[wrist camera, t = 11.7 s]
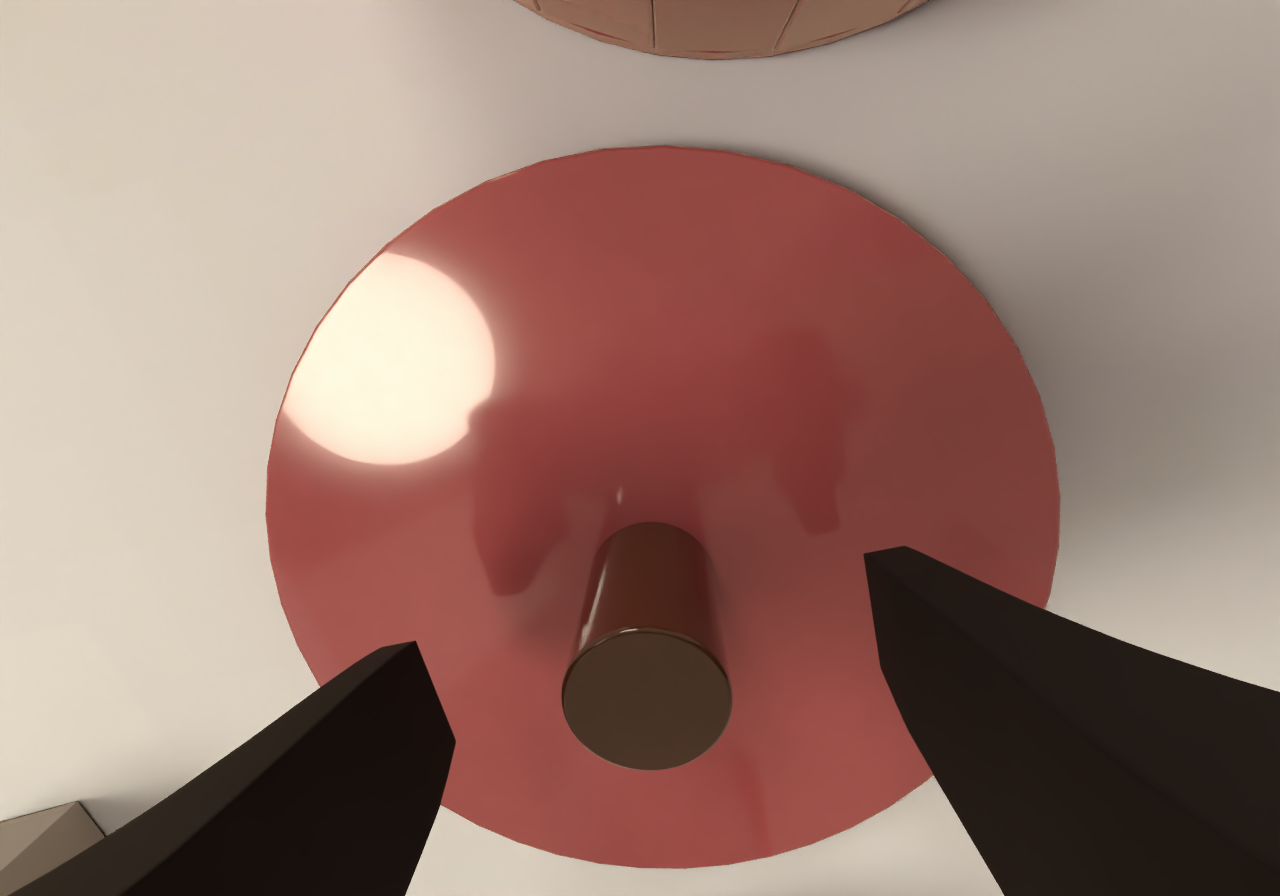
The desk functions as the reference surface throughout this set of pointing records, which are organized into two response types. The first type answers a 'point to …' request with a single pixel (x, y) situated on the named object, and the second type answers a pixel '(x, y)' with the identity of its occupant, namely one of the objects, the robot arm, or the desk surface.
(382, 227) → the desk surface
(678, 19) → the pot
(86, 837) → the cassette player
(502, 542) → the lid
